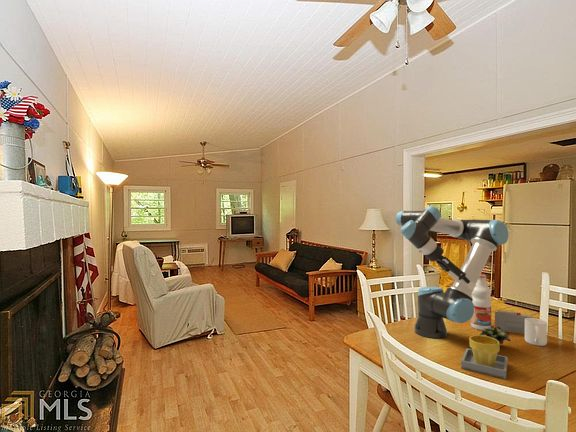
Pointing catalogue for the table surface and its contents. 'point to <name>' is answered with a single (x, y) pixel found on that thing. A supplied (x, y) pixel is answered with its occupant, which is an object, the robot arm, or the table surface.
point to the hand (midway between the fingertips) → (466, 284)
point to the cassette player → (511, 321)
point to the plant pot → (484, 349)
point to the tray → (496, 371)
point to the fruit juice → (481, 305)
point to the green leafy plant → (496, 334)
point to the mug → (535, 331)
